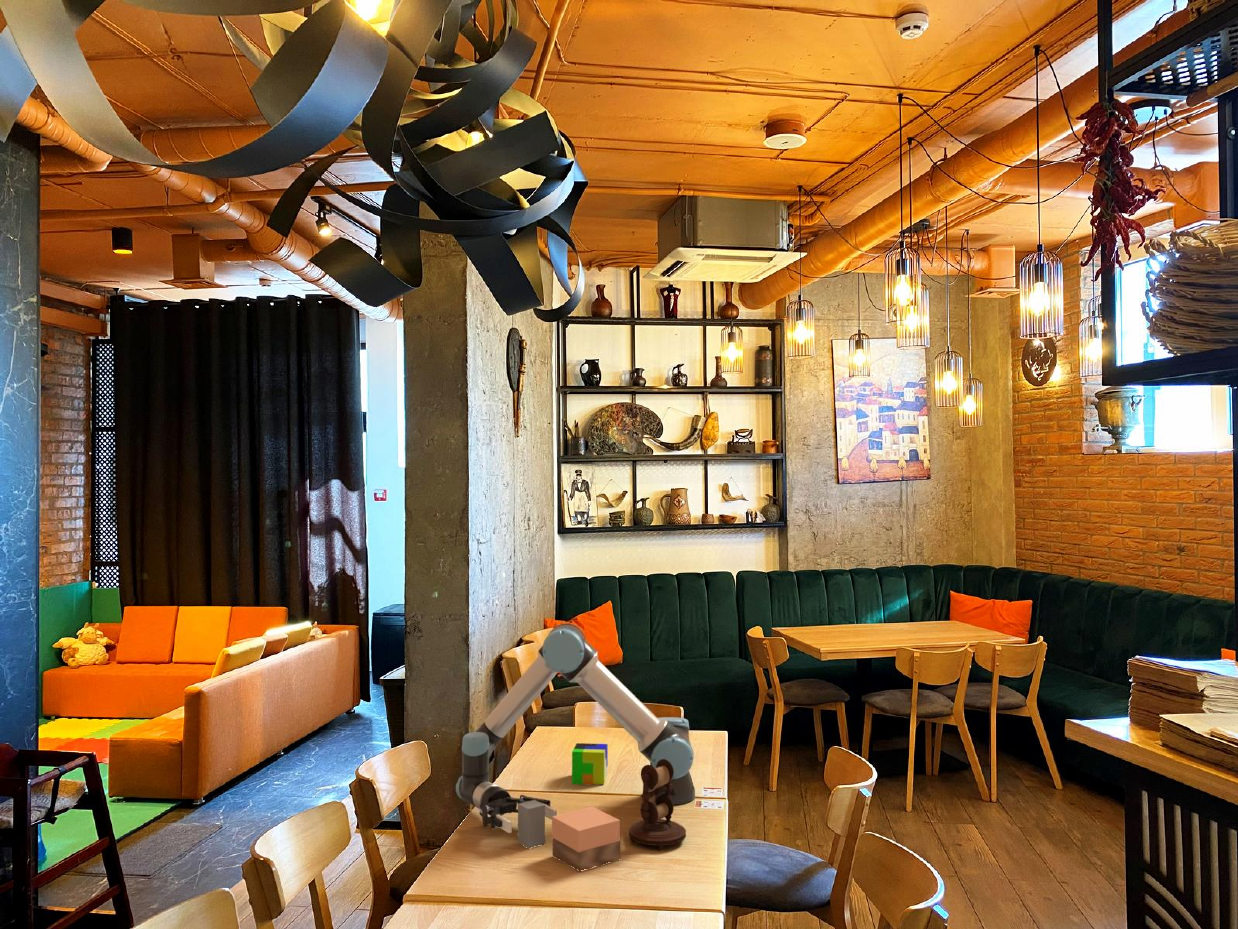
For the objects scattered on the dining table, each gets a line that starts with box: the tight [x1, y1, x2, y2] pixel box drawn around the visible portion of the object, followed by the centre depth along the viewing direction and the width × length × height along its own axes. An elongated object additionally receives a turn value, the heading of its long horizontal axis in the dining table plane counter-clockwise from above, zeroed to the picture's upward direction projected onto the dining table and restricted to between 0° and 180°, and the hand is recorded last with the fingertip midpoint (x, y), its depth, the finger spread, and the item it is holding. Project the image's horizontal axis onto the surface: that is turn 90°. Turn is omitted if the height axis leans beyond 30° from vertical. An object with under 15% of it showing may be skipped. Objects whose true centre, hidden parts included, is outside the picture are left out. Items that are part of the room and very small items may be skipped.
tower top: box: [551, 806, 621, 852], centre depth 217 cm, size 12×12×5 cm
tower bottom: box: [551, 837, 622, 872], centre depth 217 cm, size 12×12×5 cm
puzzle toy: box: [571, 742, 609, 785], centre depth 279 cm, size 10×10×10 cm
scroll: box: [628, 759, 687, 851], centre depth 228 cm, size 15×15×20 cm
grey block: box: [517, 800, 546, 850], centre depth 226 cm, size 5×5×10 cm
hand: (533, 821), depth 225 cm, fingers open, 13 cm apart
